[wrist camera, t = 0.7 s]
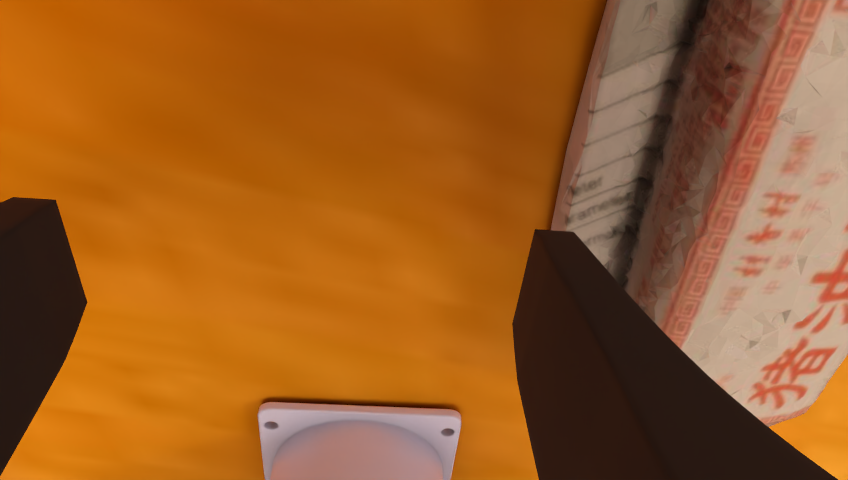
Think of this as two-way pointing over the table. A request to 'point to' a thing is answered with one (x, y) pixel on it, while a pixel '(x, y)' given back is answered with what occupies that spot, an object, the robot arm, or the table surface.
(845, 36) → the packaged product
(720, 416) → the robot arm
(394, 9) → the table surface
